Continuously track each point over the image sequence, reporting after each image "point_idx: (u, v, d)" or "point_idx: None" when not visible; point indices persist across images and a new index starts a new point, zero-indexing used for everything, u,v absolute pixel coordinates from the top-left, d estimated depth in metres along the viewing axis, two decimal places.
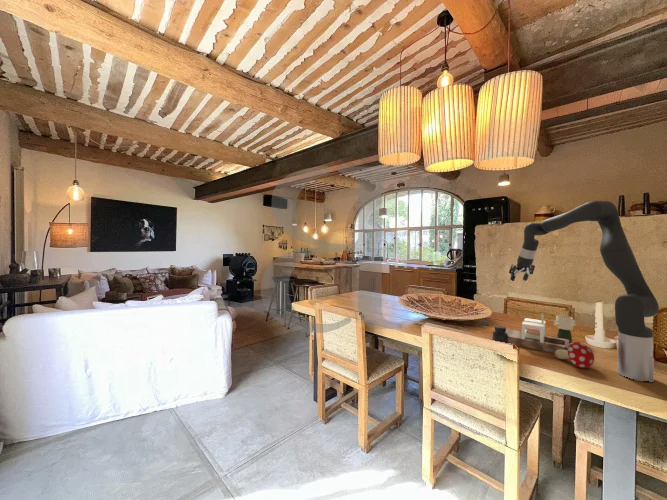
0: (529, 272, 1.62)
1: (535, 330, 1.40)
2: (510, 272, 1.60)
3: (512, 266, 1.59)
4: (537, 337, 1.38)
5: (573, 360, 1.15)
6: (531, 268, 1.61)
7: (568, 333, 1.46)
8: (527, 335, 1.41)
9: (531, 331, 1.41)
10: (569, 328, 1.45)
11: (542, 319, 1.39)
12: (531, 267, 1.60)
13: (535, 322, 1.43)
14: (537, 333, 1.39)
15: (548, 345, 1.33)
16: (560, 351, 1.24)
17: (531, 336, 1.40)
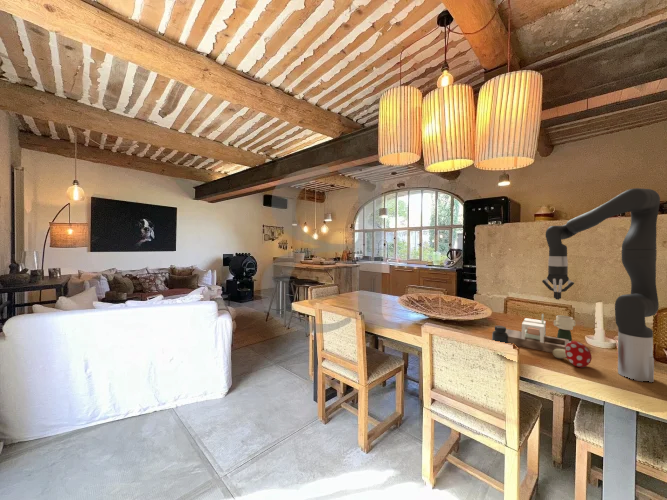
0: None
1: (535, 330, 1.40)
2: None
3: (543, 282, 1.39)
4: (537, 337, 1.38)
5: (571, 359, 1.16)
6: None
7: (568, 333, 1.46)
8: (527, 335, 1.41)
9: (531, 331, 1.41)
10: (569, 328, 1.45)
11: (542, 319, 1.39)
12: (568, 283, 1.32)
13: (535, 322, 1.43)
14: (537, 333, 1.39)
15: (548, 345, 1.33)
16: (558, 350, 1.25)
17: (531, 336, 1.40)
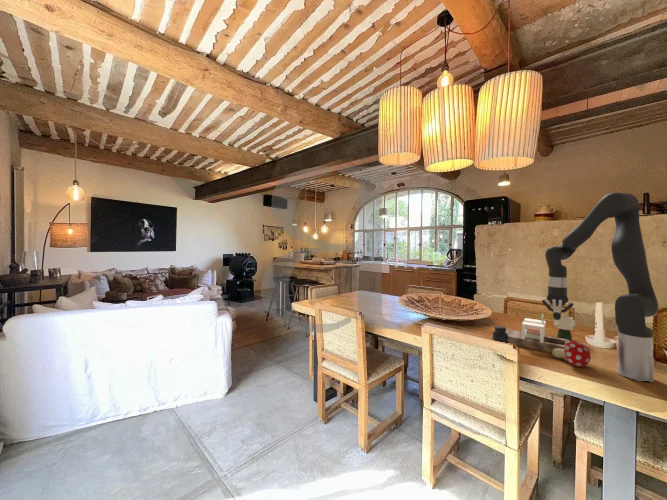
0: None
1: (535, 330, 1.40)
2: None
3: None
4: (537, 337, 1.38)
5: (570, 359, 1.16)
6: (568, 306, 1.33)
7: (568, 333, 1.46)
8: (527, 335, 1.41)
9: (531, 331, 1.41)
10: (569, 328, 1.45)
11: (542, 319, 1.39)
12: (568, 304, 1.32)
13: (535, 322, 1.43)
14: (537, 333, 1.39)
15: (548, 345, 1.33)
16: (557, 350, 1.25)
17: (531, 336, 1.40)
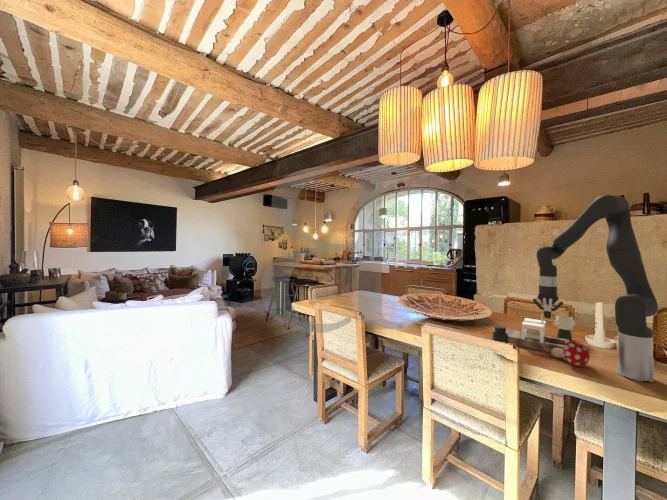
0: None
1: (535, 330, 1.40)
2: None
3: (534, 301, 1.42)
4: (537, 337, 1.38)
5: (569, 358, 1.17)
6: (558, 304, 1.35)
7: (568, 333, 1.46)
8: (527, 335, 1.41)
9: (531, 331, 1.41)
10: (569, 328, 1.45)
11: (542, 319, 1.39)
12: (558, 302, 1.35)
13: (535, 322, 1.43)
14: (537, 333, 1.39)
15: (548, 345, 1.33)
16: (556, 350, 1.25)
17: (531, 336, 1.40)
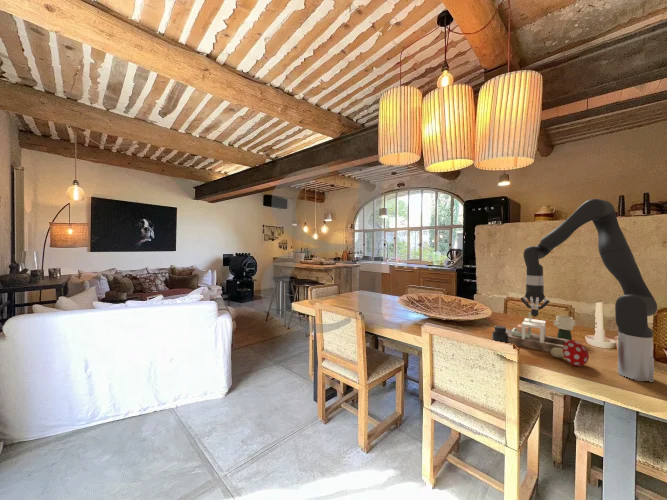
0: None
1: None
2: None
3: None
4: None
5: (568, 358, 1.17)
6: None
7: (568, 333, 1.46)
8: (515, 333, 1.44)
9: (520, 329, 1.44)
10: (569, 328, 1.45)
11: (529, 317, 1.43)
12: (544, 301, 1.38)
13: (535, 322, 1.43)
14: (526, 331, 1.42)
15: (548, 345, 1.33)
16: (555, 349, 1.26)
17: (519, 334, 1.43)
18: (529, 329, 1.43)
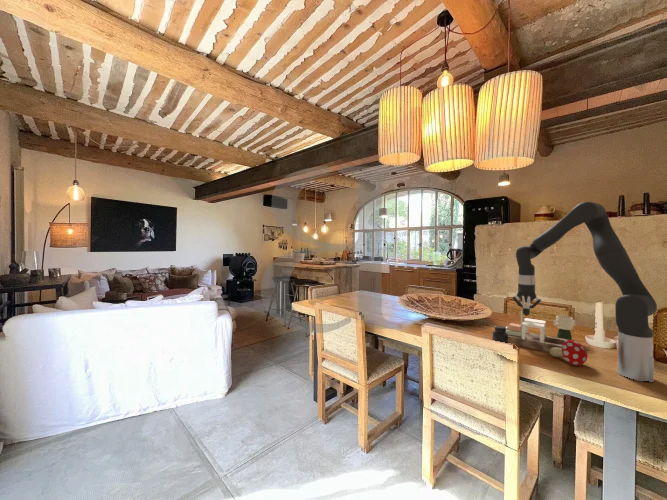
0: (531, 305, 1.43)
1: (516, 327, 1.45)
2: None
3: None
4: (516, 333, 1.44)
5: (567, 358, 1.17)
6: None
7: (568, 333, 1.46)
8: (507, 331, 1.47)
9: (512, 328, 1.46)
10: (569, 328, 1.45)
11: (521, 316, 1.45)
12: (536, 300, 1.41)
13: (535, 322, 1.43)
14: (518, 330, 1.45)
15: (548, 345, 1.33)
16: (554, 349, 1.26)
17: (510, 332, 1.46)
18: (521, 328, 1.45)
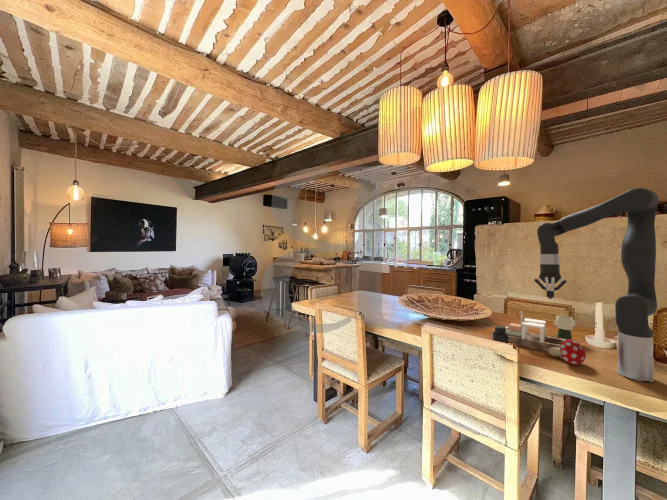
0: None
1: (516, 327, 1.45)
2: None
3: None
4: (516, 333, 1.44)
5: (565, 357, 1.18)
6: None
7: (568, 333, 1.46)
8: (507, 331, 1.47)
9: (512, 328, 1.46)
10: (569, 328, 1.45)
11: (521, 316, 1.45)
12: (561, 281, 1.29)
13: (535, 322, 1.43)
14: (518, 330, 1.45)
15: (548, 345, 1.33)
16: (553, 348, 1.27)
17: (510, 332, 1.46)
18: (521, 328, 1.45)
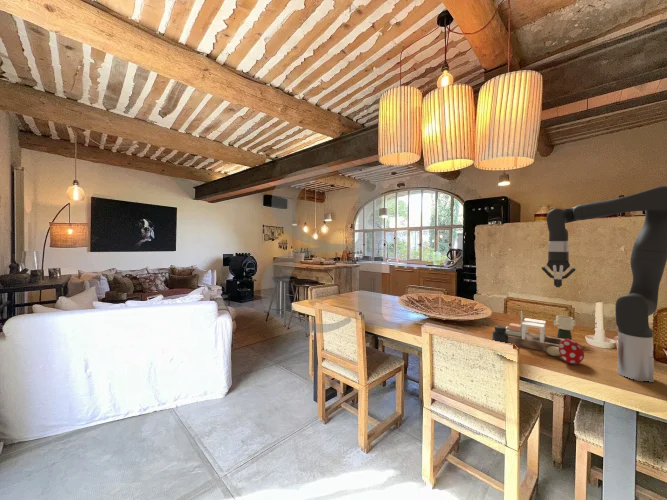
0: None
1: (516, 327, 1.45)
2: None
3: (542, 269, 1.31)
4: (516, 333, 1.44)
5: (564, 356, 1.19)
6: None
7: (568, 333, 1.46)
8: (507, 331, 1.47)
9: (512, 328, 1.46)
10: (569, 328, 1.45)
11: (521, 316, 1.45)
12: (569, 269, 1.24)
13: (535, 322, 1.43)
14: (518, 330, 1.45)
15: (548, 345, 1.33)
16: (552, 348, 1.27)
17: (510, 332, 1.46)
18: (521, 328, 1.45)
